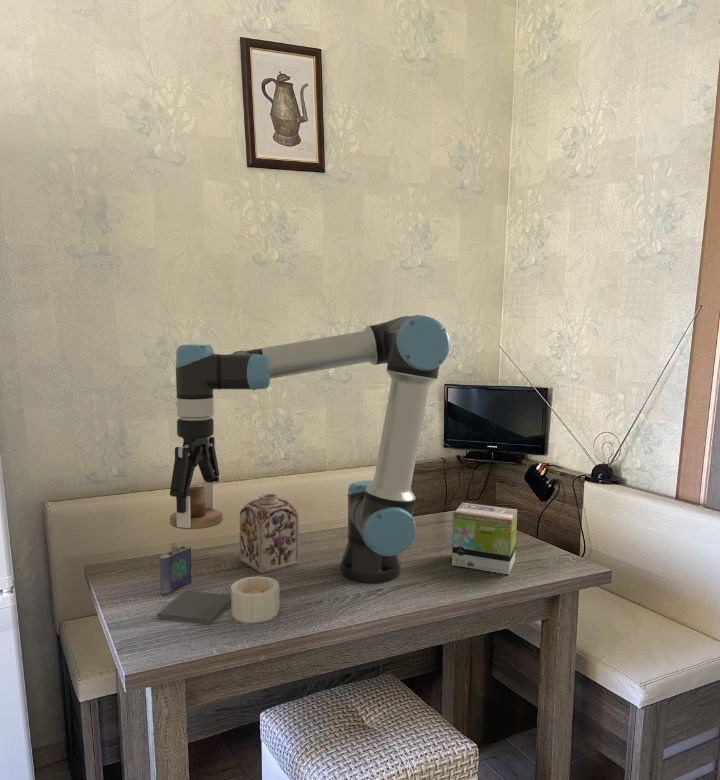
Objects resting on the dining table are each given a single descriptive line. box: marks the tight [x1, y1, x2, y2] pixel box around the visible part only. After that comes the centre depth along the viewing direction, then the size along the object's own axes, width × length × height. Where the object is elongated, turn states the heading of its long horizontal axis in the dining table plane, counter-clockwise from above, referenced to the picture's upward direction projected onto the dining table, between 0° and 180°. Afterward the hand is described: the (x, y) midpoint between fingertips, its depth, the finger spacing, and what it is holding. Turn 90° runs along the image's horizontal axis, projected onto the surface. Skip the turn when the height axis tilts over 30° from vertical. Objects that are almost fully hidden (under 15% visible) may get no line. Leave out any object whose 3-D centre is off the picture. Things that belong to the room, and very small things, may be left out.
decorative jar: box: [239, 493, 300, 574], centre depth 163 cm, size 12×12×18 cm
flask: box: [159, 542, 192, 597], centre depth 147 cm, size 9×3×11 cm, turn 151°
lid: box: [169, 485, 224, 530], centre depth 134 cm, size 11×11×7 cm
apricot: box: [249, 590, 262, 594], centre depth 135 cm, size 4×4×4 cm
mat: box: [158, 590, 231, 625], centre depth 137 cm, size 12×12×1 cm
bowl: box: [230, 576, 280, 625], centre depth 135 cm, size 10×10×6 cm
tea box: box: [451, 502, 518, 575], centre depth 163 cm, size 15×10×15 cm, turn 68°
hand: (196, 518), depth 135 cm, fingers closed on lid, 11 cm apart
